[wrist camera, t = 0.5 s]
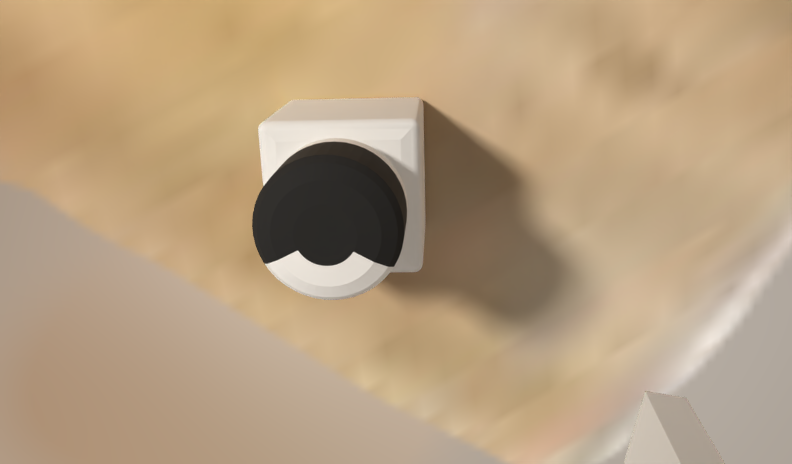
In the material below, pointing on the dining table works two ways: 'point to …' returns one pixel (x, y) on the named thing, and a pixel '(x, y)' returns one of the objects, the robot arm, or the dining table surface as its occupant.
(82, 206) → the dining table surface
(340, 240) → the medicine bottle
